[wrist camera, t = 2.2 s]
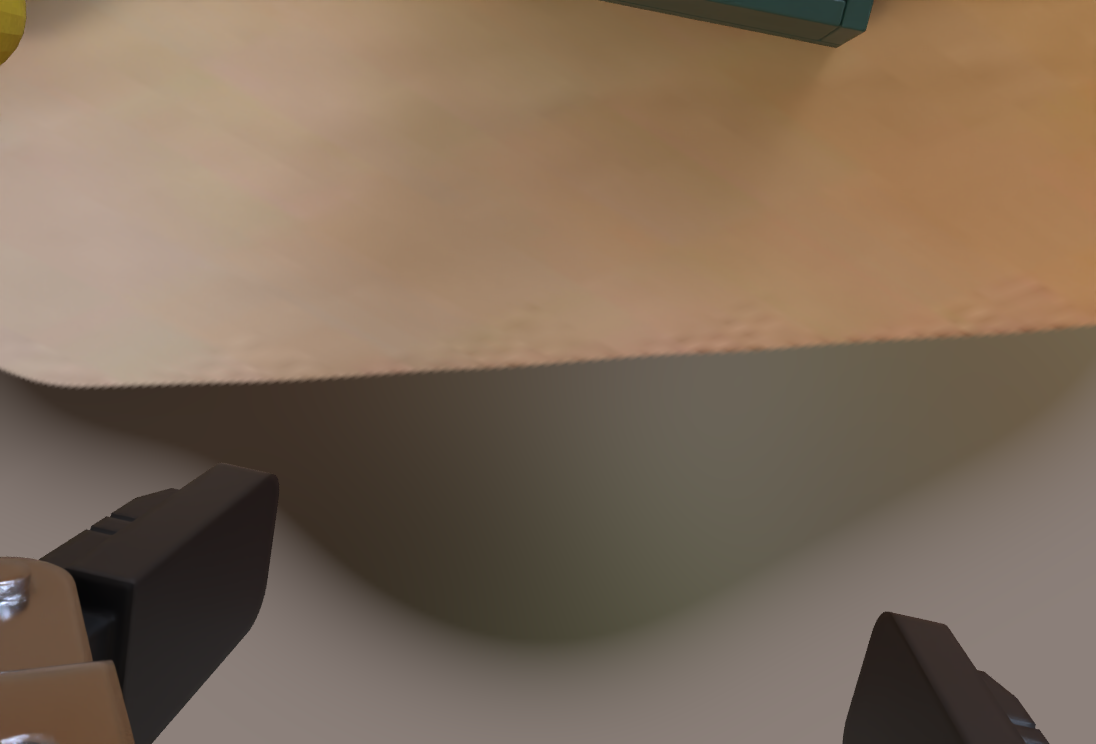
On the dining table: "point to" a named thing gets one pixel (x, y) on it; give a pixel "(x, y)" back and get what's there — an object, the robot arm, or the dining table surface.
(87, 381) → the dining table surface
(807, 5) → the green tray
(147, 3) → the dining table surface
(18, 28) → the lemon
